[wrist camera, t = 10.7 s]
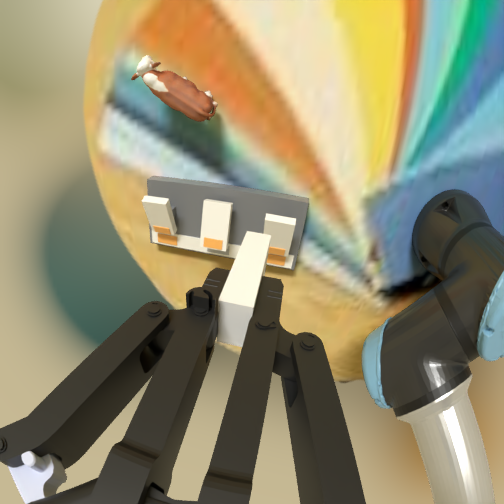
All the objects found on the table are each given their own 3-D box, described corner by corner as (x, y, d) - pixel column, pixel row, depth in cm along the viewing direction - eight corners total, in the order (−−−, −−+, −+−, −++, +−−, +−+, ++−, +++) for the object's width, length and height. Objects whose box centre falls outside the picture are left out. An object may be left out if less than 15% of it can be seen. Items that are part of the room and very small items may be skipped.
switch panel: (308, 198, 40) (308, 206, 37) (294, 263, 46) (293, 275, 43) (153, 175, 42) (142, 182, 39) (155, 237, 48) (146, 246, 45)
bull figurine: (167, 55, 32) (139, 48, 25) (231, 106, 35) (213, 108, 28) (150, 77, 34) (120, 75, 27) (211, 128, 37) (190, 135, 30)
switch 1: (168, 198, 38) (165, 205, 37) (177, 229, 44) (174, 236, 43) (145, 195, 38) (141, 201, 37) (155, 225, 44) (152, 231, 43)
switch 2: (296, 218, 36) (295, 226, 36) (288, 250, 42) (287, 257, 41) (266, 213, 37) (264, 220, 36) (262, 245, 42) (261, 252, 42)
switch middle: (233, 202, 39) (231, 204, 38) (227, 248, 41) (225, 251, 40) (206, 198, 39) (203, 200, 38) (202, 244, 42) (199, 246, 41)
